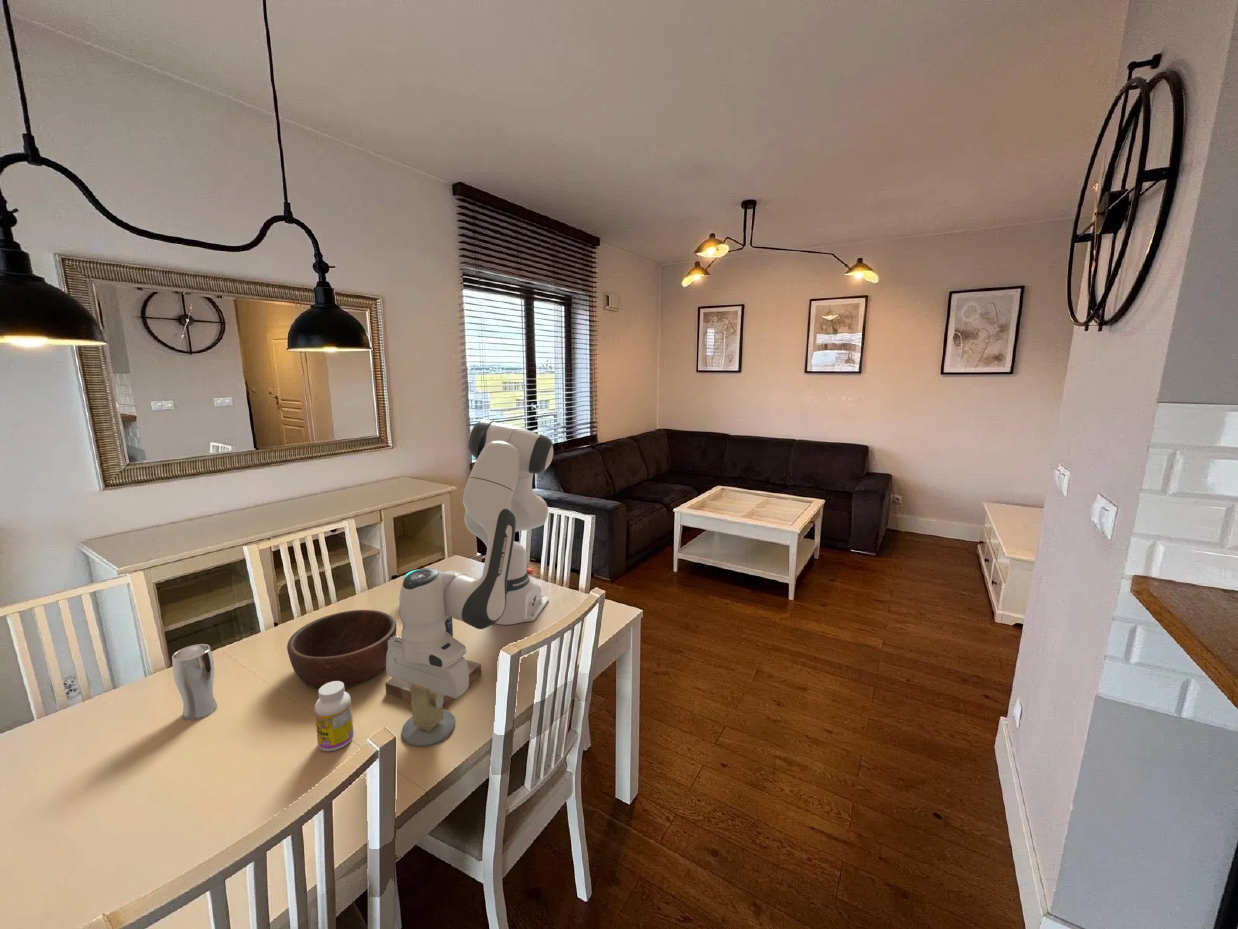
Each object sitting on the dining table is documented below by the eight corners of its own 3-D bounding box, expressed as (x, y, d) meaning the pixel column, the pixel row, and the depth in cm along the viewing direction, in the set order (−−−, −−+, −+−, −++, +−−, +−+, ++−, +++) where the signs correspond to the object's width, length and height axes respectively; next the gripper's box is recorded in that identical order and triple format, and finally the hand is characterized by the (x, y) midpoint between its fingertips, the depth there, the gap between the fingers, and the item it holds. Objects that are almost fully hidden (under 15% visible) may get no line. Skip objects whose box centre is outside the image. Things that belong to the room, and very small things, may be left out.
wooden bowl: (340, 636, 148) (337, 604, 146) (417, 648, 143) (415, 615, 141) (265, 689, 124) (261, 651, 122) (355, 705, 119) (351, 665, 117)
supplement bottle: (313, 742, 107) (307, 688, 105) (346, 726, 112) (341, 673, 110) (325, 758, 103) (320, 702, 100) (359, 740, 108) (354, 687, 105)
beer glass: (176, 725, 111) (166, 664, 108) (185, 706, 117) (175, 647, 114) (216, 716, 114) (207, 656, 111) (222, 698, 120) (214, 640, 117)
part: (428, 713, 114) (425, 673, 112) (443, 718, 113) (441, 678, 111) (413, 725, 110) (410, 685, 108) (429, 731, 109) (426, 690, 107)
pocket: (433, 659, 138) (432, 649, 137) (481, 674, 132) (481, 664, 131) (386, 693, 123) (385, 682, 123) (437, 712, 117) (437, 700, 117)
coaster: (427, 706, 119) (427, 703, 119) (465, 720, 115) (465, 717, 115) (390, 737, 109) (390, 734, 109) (430, 753, 105) (430, 750, 105)
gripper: (376, 640, 109) (380, 697, 112) (452, 664, 101) (454, 724, 104) (399, 627, 115) (402, 681, 117) (472, 648, 107) (474, 706, 110)
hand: (427, 702), depth 111 cm, fingers closed on part, 4 cm apart
